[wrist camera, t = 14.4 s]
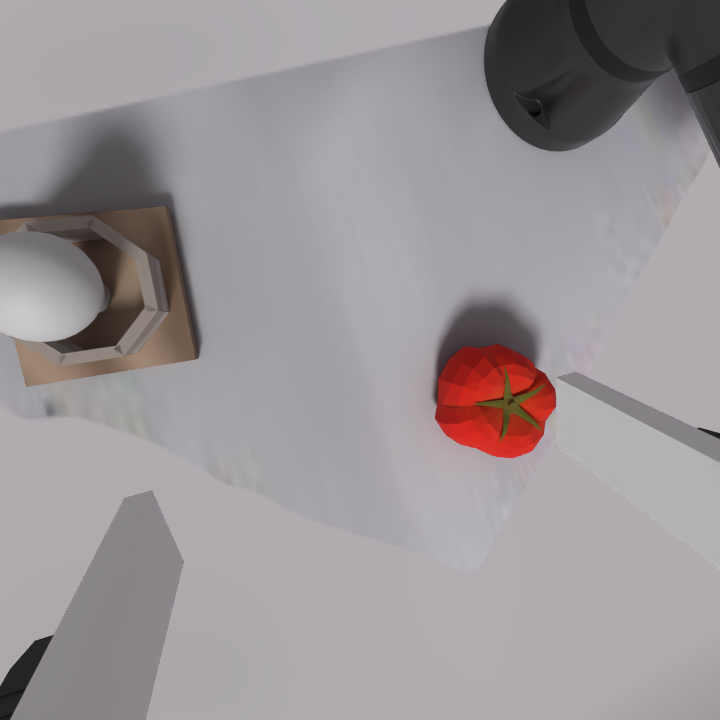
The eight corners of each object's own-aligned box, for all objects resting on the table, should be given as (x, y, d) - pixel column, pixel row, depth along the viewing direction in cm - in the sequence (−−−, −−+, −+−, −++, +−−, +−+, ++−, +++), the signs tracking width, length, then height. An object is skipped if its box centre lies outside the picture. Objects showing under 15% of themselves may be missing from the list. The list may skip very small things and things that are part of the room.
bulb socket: (169, 211, 32) (152, 191, 28) (198, 357, 34) (187, 363, 29) (-3, 226, 30) (-54, 207, 25) (37, 383, 31) (-5, 394, 27)
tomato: (503, 455, 42) (546, 479, 35) (410, 422, 39) (438, 441, 33) (537, 367, 42) (586, 375, 35) (446, 328, 39) (482, 329, 33)
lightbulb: (42, 260, 30) (-86, 224, 19) (132, 251, 31) (61, 213, 20) (60, 343, 30) (-52, 352, 20) (148, 331, 32) (87, 334, 21)
